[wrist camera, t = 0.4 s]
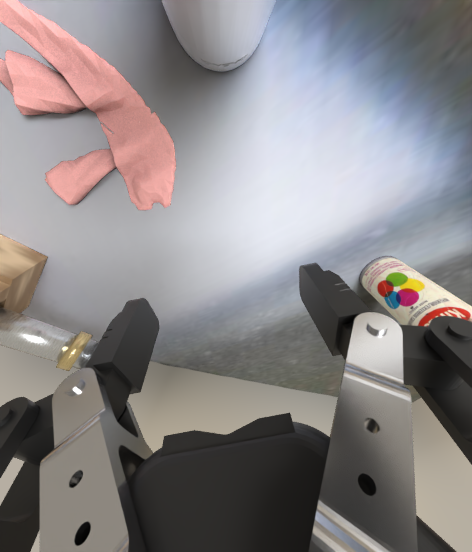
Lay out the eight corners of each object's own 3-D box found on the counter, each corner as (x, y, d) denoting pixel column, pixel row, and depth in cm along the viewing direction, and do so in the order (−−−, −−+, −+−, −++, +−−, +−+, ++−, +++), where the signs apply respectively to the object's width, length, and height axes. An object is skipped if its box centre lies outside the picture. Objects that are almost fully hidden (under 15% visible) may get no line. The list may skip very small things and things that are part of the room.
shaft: (-25, 308, 27) (-72, 339, 23) (-20, 283, 25) (-70, 312, 21) (105, 354, 34) (89, 384, 29) (118, 337, 32) (102, 367, 27)
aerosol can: (383, 249, 33) (555, 357, 16) (407, 266, 35) (579, 378, 18) (351, 279, 36) (467, 397, 19) (375, 293, 38) (497, 411, 21)
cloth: (192, 215, 28) (190, 220, 26) (35, 228, 28) (21, 234, 26) (148, -23, 17) (138, -46, 15) (-115, -8, 17) (-161, -28, 15)
